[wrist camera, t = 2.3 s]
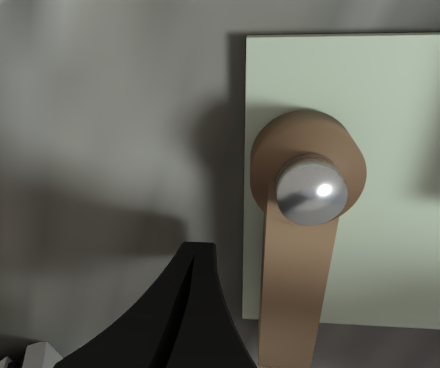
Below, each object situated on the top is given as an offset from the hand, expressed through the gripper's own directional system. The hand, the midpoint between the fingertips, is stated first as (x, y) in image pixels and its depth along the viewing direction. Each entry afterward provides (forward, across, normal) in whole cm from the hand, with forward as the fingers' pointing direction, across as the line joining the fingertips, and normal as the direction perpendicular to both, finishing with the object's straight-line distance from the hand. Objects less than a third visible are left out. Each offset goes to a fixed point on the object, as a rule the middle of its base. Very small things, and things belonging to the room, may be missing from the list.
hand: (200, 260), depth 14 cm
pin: (-1, -4, -4) cm, 6 cm away
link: (+1, -4, 0) cm, 4 cm away
